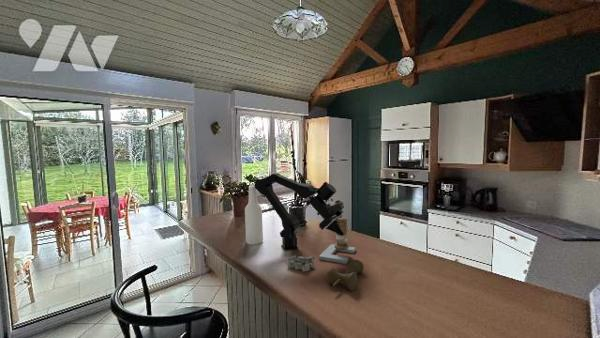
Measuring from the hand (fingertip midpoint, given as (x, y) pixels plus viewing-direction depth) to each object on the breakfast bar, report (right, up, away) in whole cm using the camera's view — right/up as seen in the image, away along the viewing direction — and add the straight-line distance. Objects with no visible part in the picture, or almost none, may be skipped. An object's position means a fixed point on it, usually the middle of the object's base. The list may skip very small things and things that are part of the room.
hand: (344, 233), depth 120 cm
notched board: (-3, -10, +2) cm, 11 cm away
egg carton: (-20, -12, -9) cm, 25 cm away
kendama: (-3, -13, -22) cm, 26 cm away
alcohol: (-44, -10, +22) cm, 50 cm away
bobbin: (-1, -7, +1) cm, 7 cm away
